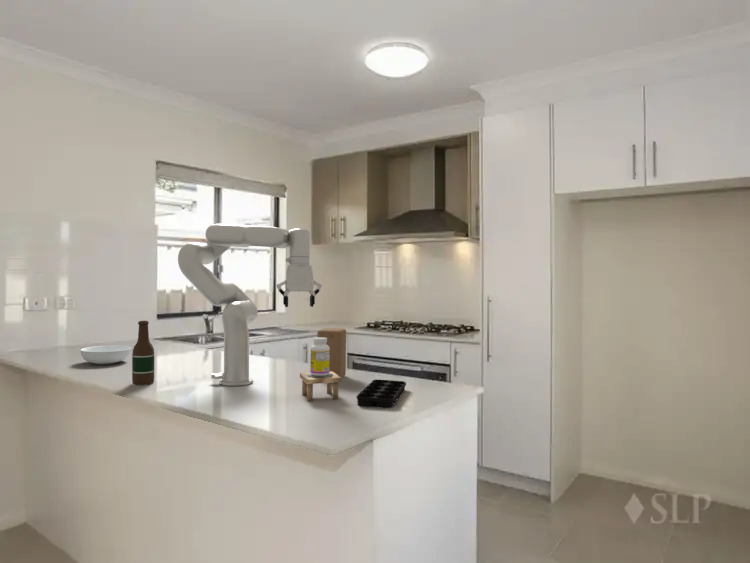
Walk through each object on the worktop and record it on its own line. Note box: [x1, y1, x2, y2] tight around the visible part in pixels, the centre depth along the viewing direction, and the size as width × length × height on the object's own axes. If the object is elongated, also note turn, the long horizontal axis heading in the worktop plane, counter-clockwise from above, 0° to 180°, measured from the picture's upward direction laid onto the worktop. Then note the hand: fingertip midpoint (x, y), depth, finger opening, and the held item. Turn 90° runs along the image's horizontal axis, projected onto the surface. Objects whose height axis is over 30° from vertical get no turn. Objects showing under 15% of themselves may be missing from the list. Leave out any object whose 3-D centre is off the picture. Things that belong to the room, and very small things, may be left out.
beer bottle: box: [131, 320, 155, 386], centre depth 204 cm, size 8×8×24 cm
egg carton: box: [356, 379, 407, 409], centre depth 186 cm, size 18×30×4 cm, turn 0°
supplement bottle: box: [309, 336, 330, 376], centre depth 186 cm, size 7×7×13 cm
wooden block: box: [316, 327, 347, 379], centre depth 219 cm, size 10×10×20 cm
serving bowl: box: [79, 345, 132, 366], centre depth 247 cm, size 21×21×7 cm
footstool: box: [299, 371, 342, 402], centre depth 186 cm, size 12×12×8 cm
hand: (299, 306), depth 202 cm, fingers open, 9 cm apart
